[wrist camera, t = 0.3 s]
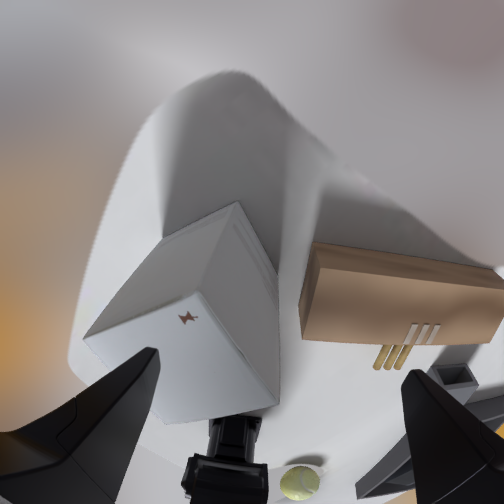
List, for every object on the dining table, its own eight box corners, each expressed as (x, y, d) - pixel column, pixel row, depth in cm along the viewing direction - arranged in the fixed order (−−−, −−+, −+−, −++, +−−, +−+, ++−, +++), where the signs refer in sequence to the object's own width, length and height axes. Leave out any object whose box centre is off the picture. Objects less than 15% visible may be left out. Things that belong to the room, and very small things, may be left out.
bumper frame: (433, 469, 42) (436, 482, 39) (355, 484, 43) (357, 499, 39) (507, 394, 31) (515, 409, 27) (424, 411, 31) (432, 432, 28)
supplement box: (159, 238, 23) (74, 336, 12) (239, 198, 21) (200, 286, 10) (203, 308, 26) (163, 428, 14) (281, 279, 24) (284, 407, 12)
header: (451, 353, 27) (466, 379, 22) (287, 348, 27) (289, 383, 23) (492, 269, 22) (516, 291, 18) (312, 241, 22) (321, 268, 18)
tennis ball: (299, 507, 34) (327, 498, 32) (268, 498, 34) (295, 489, 32) (302, 479, 40) (328, 468, 38) (274, 468, 40) (299, 457, 38)
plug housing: (449, 388, 29) (459, 410, 26) (413, 391, 29) (422, 416, 26) (466, 362, 27) (479, 385, 24) (430, 365, 28) (442, 390, 24)
